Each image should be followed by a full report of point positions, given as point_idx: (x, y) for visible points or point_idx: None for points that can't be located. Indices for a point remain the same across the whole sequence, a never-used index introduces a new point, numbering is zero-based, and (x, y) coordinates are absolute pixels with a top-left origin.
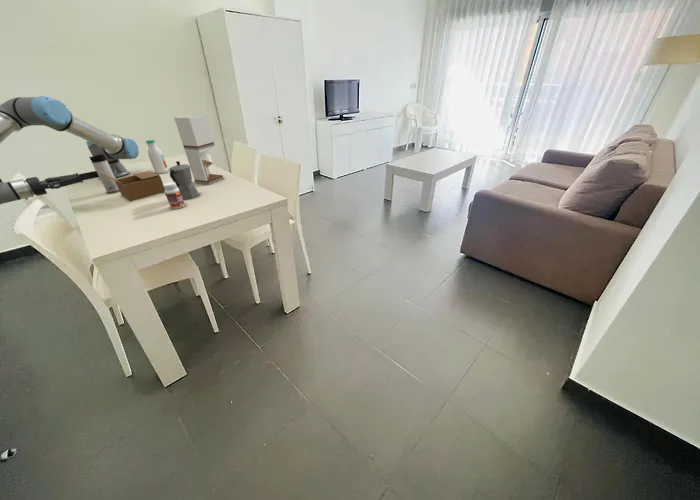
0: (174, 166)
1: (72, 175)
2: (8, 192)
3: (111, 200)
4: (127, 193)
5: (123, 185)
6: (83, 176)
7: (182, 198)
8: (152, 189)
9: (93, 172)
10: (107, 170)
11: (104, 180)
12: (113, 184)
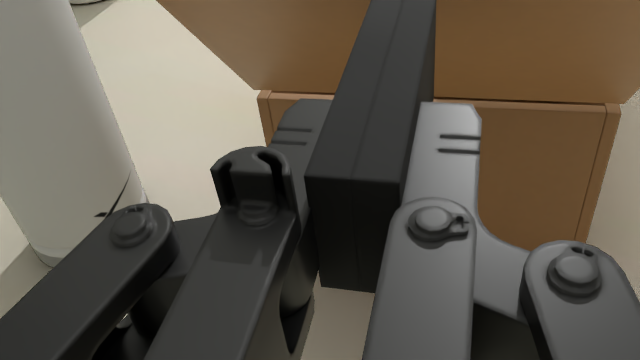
0: None
1: (209, 283)
2: None
3: (338, 345)
4: (596, 197)
5: (620, 115)
6: (473, 185)
7: None
8: None
9: (431, 29)
10: (69, 15)
11: (59, 150)
12: (123, 161)
